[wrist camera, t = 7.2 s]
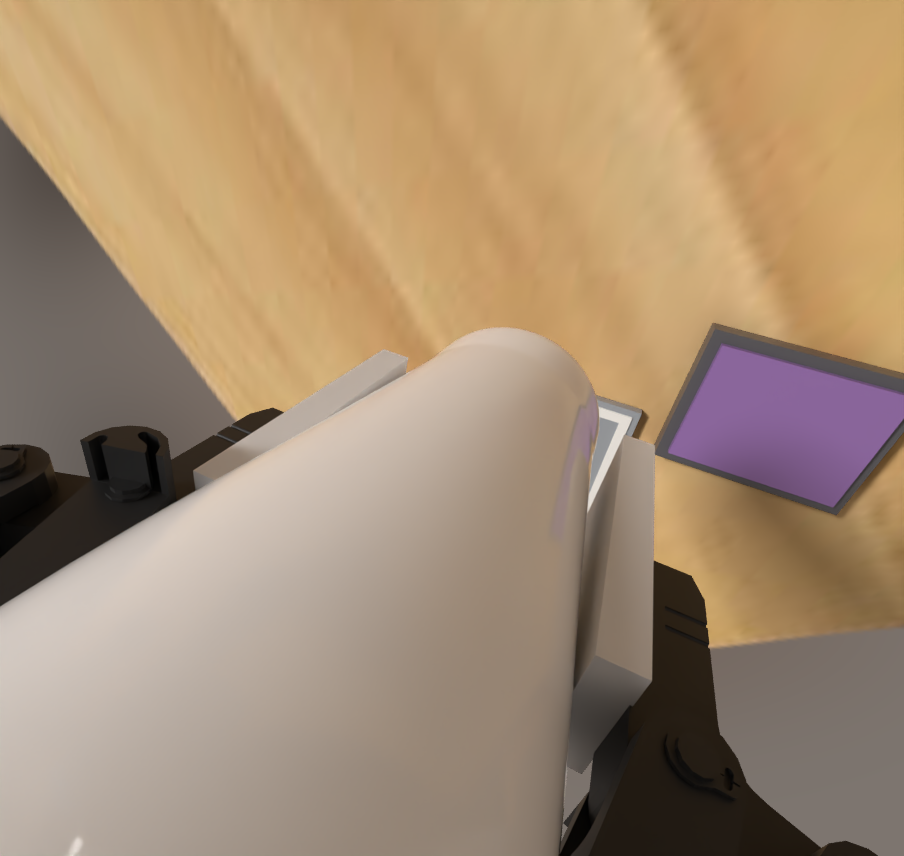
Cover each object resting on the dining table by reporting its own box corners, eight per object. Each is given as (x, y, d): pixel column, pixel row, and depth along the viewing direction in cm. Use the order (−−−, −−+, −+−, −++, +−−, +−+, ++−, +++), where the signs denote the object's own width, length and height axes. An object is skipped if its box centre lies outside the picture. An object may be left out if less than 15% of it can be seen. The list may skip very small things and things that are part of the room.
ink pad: (654, 444, 30) (653, 457, 28) (712, 322, 25) (715, 331, 24) (830, 502, 27) (838, 519, 26) (926, 379, 23) (942, 392, 22)
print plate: (446, 485, 37) (443, 490, 37) (473, 356, 31) (470, 360, 31) (584, 538, 35) (583, 544, 34) (641, 409, 29) (641, 414, 28)
